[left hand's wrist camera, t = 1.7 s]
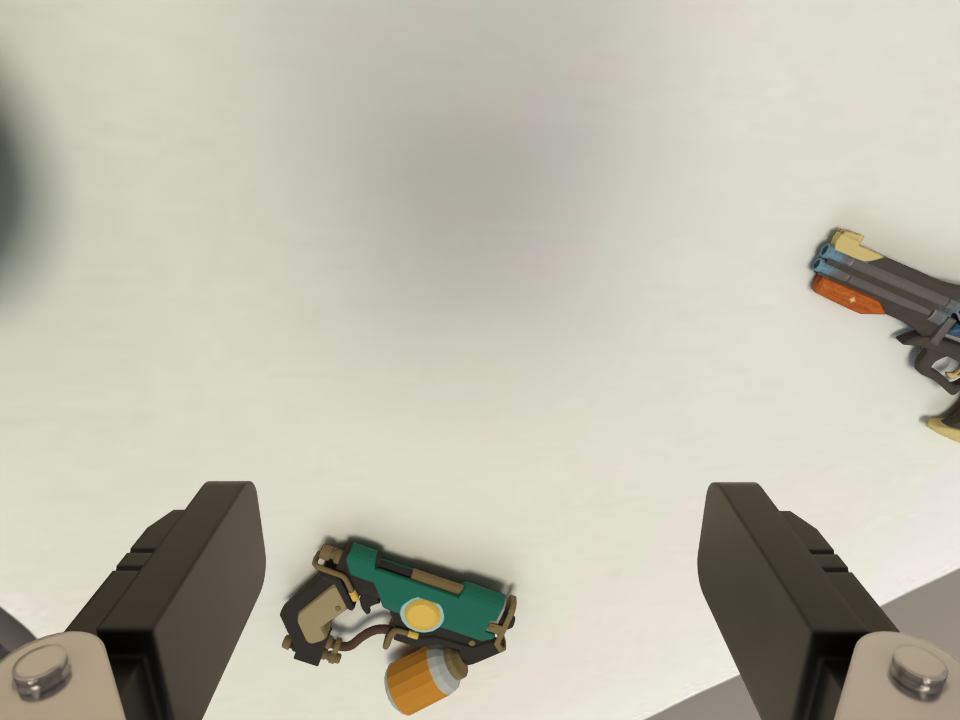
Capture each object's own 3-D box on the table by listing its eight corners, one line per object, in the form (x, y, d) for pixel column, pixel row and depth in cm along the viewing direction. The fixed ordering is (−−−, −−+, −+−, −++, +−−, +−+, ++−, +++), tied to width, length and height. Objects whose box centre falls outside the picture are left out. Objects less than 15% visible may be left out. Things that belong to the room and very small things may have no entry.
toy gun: (1001, 463, 46) (1112, 345, 42) (759, 363, 45) (848, 230, 40) (978, 442, 48) (1081, 329, 44) (749, 346, 47) (831, 220, 43)
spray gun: (266, 612, 55) (365, 484, 51) (429, 711, 57) (534, 596, 53) (247, 649, 50) (353, 512, 47) (423, 753, 53) (537, 632, 49)
